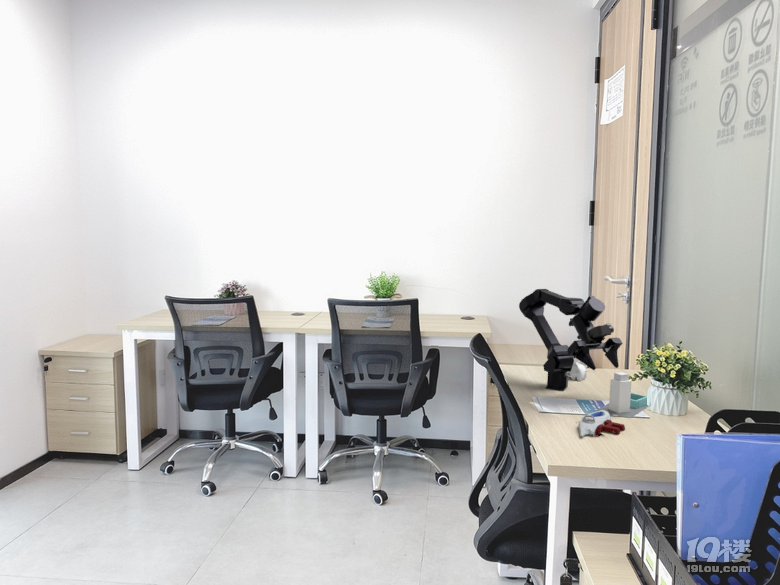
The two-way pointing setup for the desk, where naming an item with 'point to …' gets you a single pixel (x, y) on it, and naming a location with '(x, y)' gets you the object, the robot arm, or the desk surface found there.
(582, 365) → the elephant figurine
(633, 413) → the mat
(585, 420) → the spaceship
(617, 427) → the bracket
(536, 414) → the desk surface
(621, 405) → the grey square bottle
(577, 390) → the desk surface
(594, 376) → the desk surface
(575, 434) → the desk surface
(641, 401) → the holder
